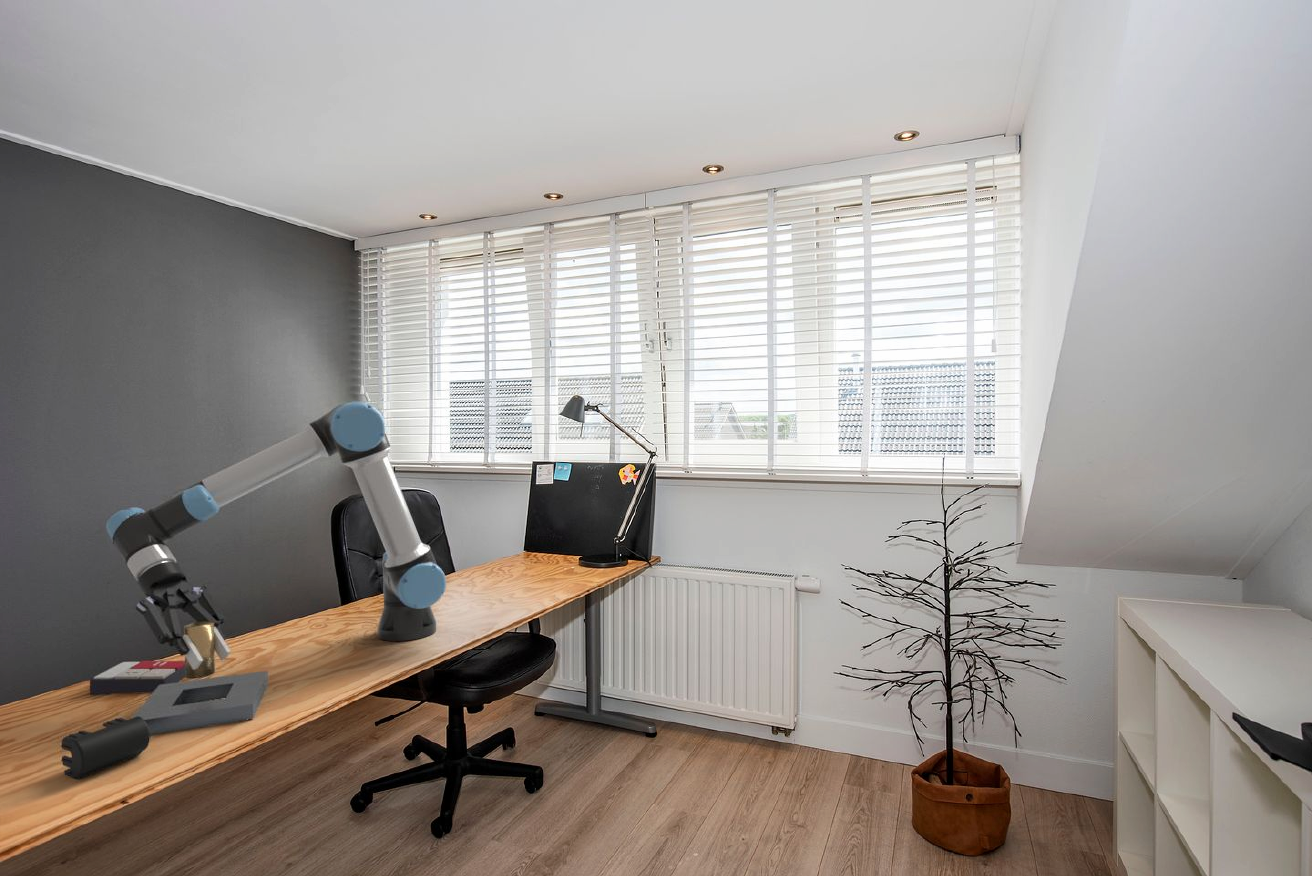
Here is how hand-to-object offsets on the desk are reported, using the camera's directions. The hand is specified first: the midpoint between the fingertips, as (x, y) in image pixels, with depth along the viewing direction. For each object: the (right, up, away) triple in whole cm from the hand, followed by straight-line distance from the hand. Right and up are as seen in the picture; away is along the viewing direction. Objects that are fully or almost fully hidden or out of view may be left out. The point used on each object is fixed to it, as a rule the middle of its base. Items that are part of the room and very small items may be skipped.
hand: (212, 660), depth 138 cm
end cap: (-4, -11, -21) cm, 24 cm away
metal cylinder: (-3, -3, +1) cm, 5 cm away
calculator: (-26, -11, +16) cm, 33 cm away
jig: (-3, -10, +2) cm, 11 cm away
